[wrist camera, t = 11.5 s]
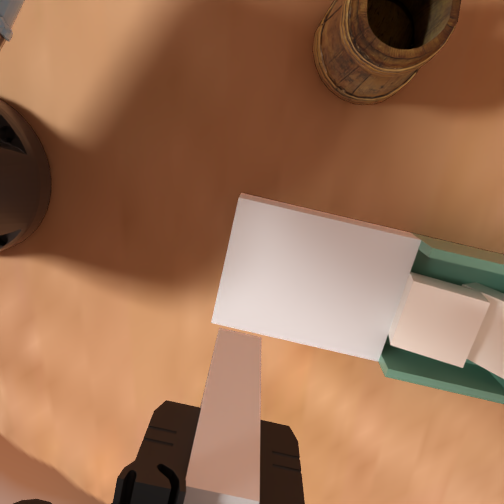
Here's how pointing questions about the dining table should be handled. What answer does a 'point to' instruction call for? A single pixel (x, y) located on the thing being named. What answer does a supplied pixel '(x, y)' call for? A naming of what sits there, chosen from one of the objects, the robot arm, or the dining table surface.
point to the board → (313, 277)
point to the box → (460, 272)
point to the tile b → (490, 333)
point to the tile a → (438, 319)
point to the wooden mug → (379, 44)
